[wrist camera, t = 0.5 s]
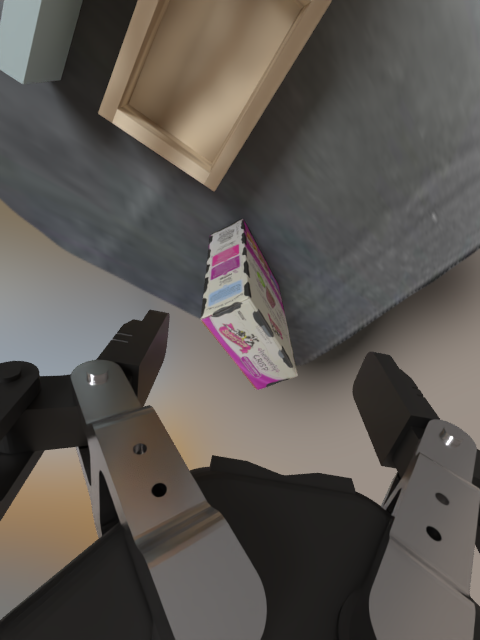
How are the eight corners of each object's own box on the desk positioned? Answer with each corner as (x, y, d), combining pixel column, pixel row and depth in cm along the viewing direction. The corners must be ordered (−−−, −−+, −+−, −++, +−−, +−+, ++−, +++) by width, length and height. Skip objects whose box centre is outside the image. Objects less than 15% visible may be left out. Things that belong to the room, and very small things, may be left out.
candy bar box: (206, 235, 39) (196, 319, 27) (243, 216, 38) (250, 295, 25) (248, 300, 46) (255, 393, 33) (280, 286, 44) (301, 377, 32)
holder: (114, 106, 31) (98, 113, 27) (200, -124, 23) (195, -163, 19) (215, 177, 35) (214, 191, 31) (319, 5, 27) (335, -5, 23)
